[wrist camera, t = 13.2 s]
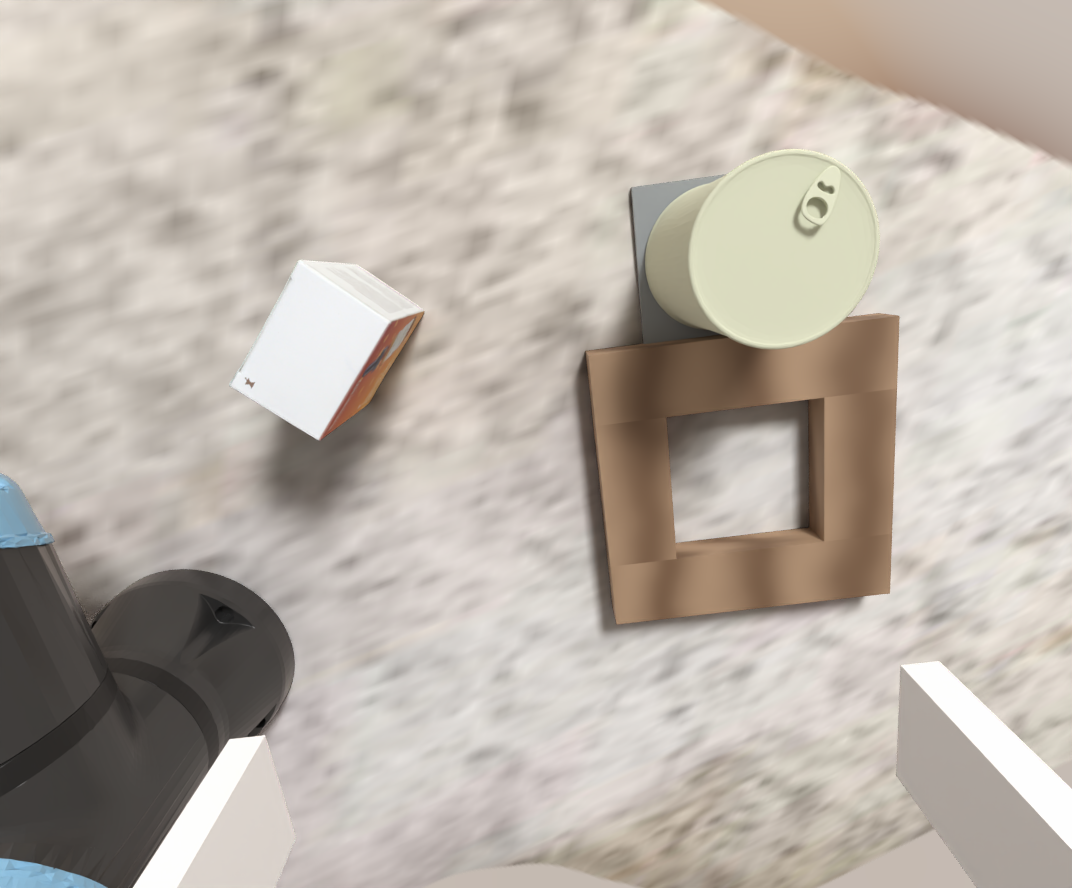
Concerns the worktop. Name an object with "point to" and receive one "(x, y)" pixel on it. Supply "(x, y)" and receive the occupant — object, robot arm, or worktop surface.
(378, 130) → the worktop surface
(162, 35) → the worktop surface
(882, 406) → the housing
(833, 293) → the can
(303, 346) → the small box
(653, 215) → the mat
